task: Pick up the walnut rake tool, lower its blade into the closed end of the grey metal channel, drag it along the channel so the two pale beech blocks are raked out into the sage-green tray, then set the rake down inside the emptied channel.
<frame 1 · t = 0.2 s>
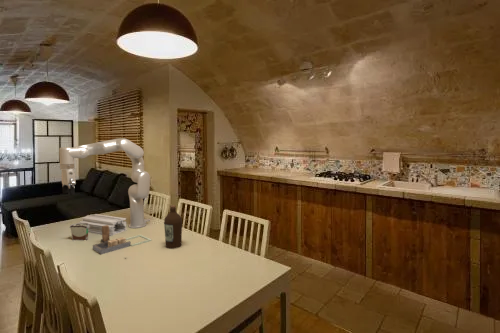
hand: (68, 193, 177), 31 cm above the table, tool pointing down, fingers open, 9 cm apart
channel: (112, 249, 167), on the table
tray: (136, 242, 178), on the table
block b: (112, 247, 167), point 1 cm above the table, touching channel
food container: (82, 238, 185), on the table
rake: (106, 244, 176), on the table
aluminum extrusion profile: (102, 231, 203), on the table
olive oil: (173, 246, 173), on the table
block a: (121, 245, 171), point 1 cm above the table, touching channel
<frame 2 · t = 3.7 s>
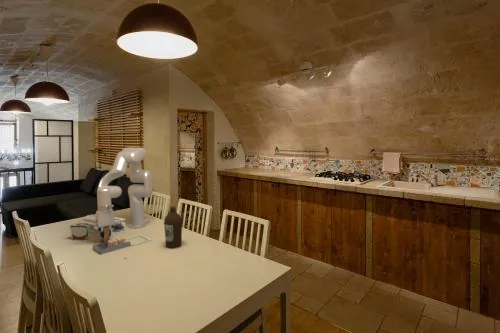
hand: (105, 236, 175), 5 cm above the table, tool pointing down, fingers closed on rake, 3 cm apart
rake: (106, 244, 176), on the table, touching gripper
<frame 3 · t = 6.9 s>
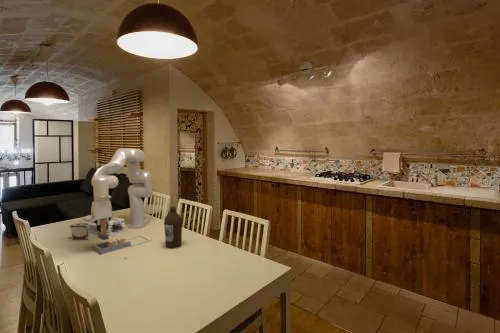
hand: (102, 230, 162), 13 cm above the table, tool pointing down, fingers closed on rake, 3 cm apart
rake: (103, 238, 162), point 8 cm above the table, touching gripper
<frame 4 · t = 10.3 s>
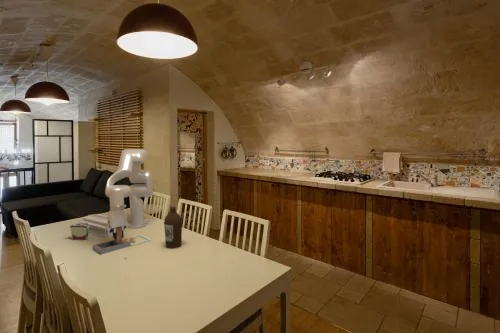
hand: (118, 237, 169), 6 cm above the table, tool pointing down, fingers closed on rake, 3 cm apart
block b: (124, 244, 172), point 1 cm above the table, touching block a, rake
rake: (118, 245, 169), point 1 cm above the table, touching block b, gripper
block a: (130, 243, 175), point 1 cm above the table, touching block b
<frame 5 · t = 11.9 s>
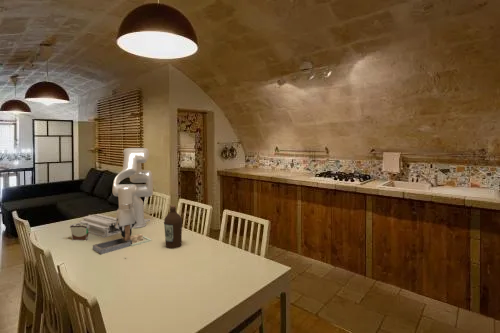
hand: (126, 235, 173), 6 cm above the table, tool pointing down, fingers closed on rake, 3 cm apart
block b: (132, 243, 176), point 1 cm above the table, touching block a, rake, tray
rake: (126, 243, 173), point 1 cm above the table, touching block b, gripper
block a: (138, 241, 179), point 1 cm above the table, touching block b, tray
when the fingers open (7 cm above the table, at t = 15.9 s): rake stays where it is, resting on channel.
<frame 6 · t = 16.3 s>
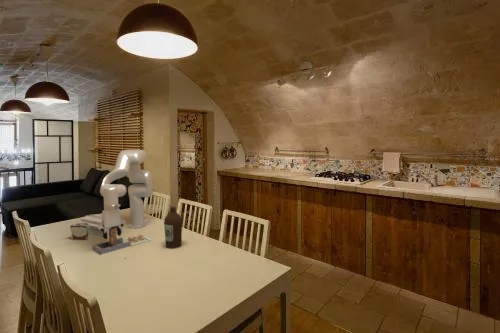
hand: (112, 236, 166), 8 cm above the table, tool pointing down, fingers open, 7 cm apart
block b: (133, 242, 176), point 1 cm above the table, touching tray
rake: (113, 247, 167), point 1 cm above the table, touching channel
block a: (139, 240, 180), point 1 cm above the table, touching tray
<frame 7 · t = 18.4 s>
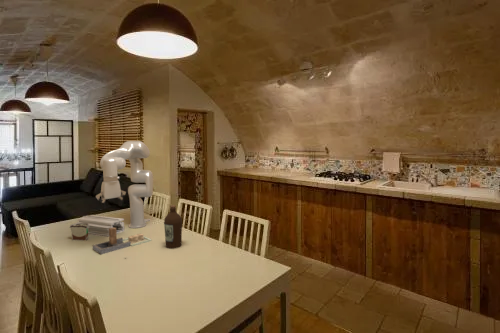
hand: (112, 207, 169), 24 cm above the table, tool pointing down, fingers open, 9 cm apart
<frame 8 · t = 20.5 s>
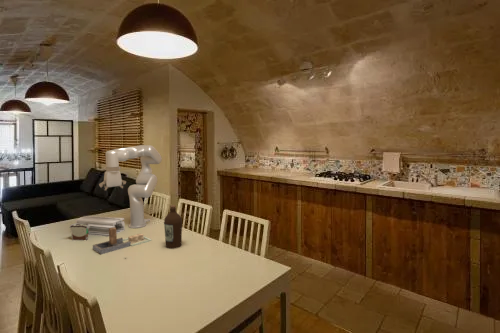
hand: (113, 195, 187), 28 cm above the table, tool pointing down, fingers open, 9 cm apart
at the end: block a inside the target area on the tray (2.8 cm from its centre), point 0.6 cm above the tray's base; block b inside the target area on the tray (1.4 cm from its centre), point 0.6 cm above the tray's base; the gripper is holding nothing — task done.
